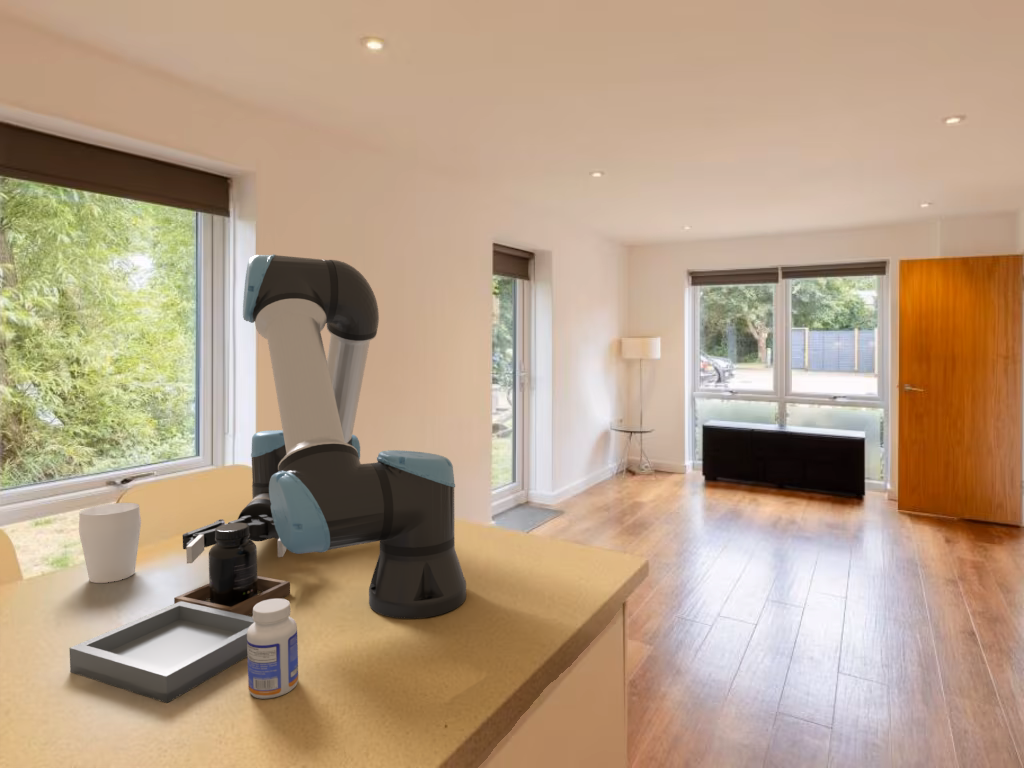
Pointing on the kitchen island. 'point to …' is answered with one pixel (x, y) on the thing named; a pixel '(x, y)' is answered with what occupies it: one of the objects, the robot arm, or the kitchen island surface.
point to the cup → (110, 540)
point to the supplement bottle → (232, 565)
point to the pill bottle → (272, 650)
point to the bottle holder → (268, 585)
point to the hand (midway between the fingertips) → (235, 551)
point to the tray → (165, 650)
